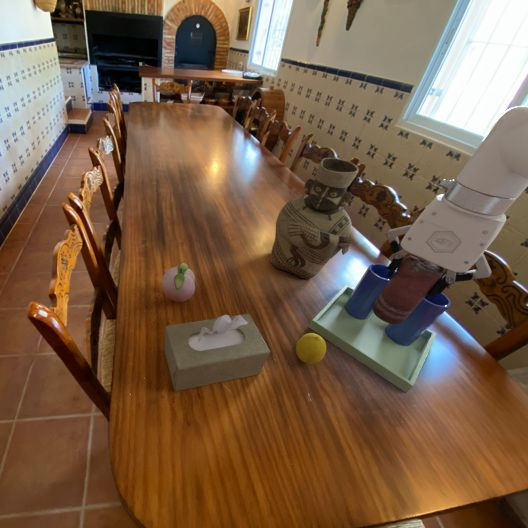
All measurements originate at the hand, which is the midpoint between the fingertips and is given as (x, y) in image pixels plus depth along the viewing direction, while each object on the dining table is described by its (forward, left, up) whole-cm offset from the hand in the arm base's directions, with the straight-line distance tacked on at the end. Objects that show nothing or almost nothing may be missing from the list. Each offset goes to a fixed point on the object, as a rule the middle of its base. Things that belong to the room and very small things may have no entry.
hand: (410, 282), depth 57 cm
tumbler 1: (+5, -9, -19) cm, 22 cm away
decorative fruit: (+38, +24, -20) cm, 49 cm away
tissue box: (+20, +31, -20) cm, 42 cm away
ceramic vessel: (+26, -16, -20) cm, 36 cm away
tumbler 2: (-5, -9, -19) cm, 22 cm away
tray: (0, -4, -19) cm, 20 cm away
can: (0, 0, -9) cm, 9 cm away
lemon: (+7, +15, -20) cm, 26 cm away
